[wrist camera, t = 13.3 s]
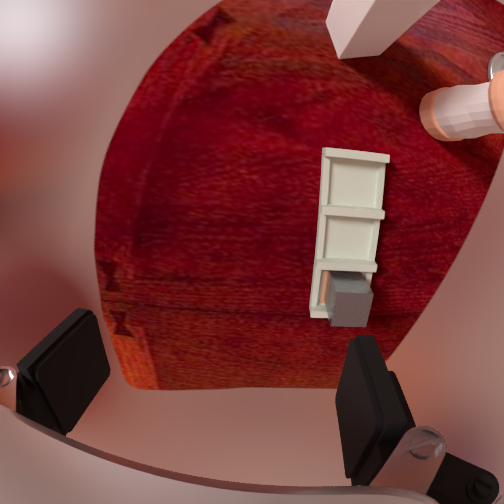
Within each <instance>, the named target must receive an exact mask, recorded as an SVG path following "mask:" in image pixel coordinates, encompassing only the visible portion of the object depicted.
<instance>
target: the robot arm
mask: <svg viewBox="0 0 504 504" xmlns="http://www.w3.org/2000/svg"><path fill="white" fill-rule="evenodd" d="M501 70H504V52H499V53H497V54H495V55H494V56H492V58H491V59H490V62H489V65H488V79H489V82H490V81H491V80H492V78H493V77H494V75H495V74H496V73H497V72H499V71H501ZM17 367H18V369H19V372H18V373H16V371H15V369H13V368H12V367H9V366H2V367H0V504H504V494H503V495H501V494H499V483H498V481H497V479H496V477H495V476H494V475H493V474H492V473H490V472H489V471H486V470H484V469H482V468H479V467H477V466H475V465H473V464H471V463H468V462H466V461H464V460H462V459H460V458H458V457H455V456H453V455H451V454H449V453H447V452H446V449H447V442H446V440H445V438H444V436H443V435H442V434H441V433H440V432H439V431H438V430H436V429H434V428H432V427H428V426H417V427H416V425H415V422H414V420H413V417H412V414H411V412H410V409H409V407H408V404H407V401H406V399H405V396H404V394H403V391H402V389H401V386H400V384H399V382H398V379H397V377H396V375H395V373H394V372H393V371H388V369H387V367H386V364H385V362H384V359H383V357H382V354H381V352H380V350H379V347H378V345H377V342H376V340H375V338H374V336H373V335H356V337H355V339H351V340H350V342H349V346H348V351H347V355H346V359H345V363H344V367H343V371H342V374H341V378H340V382H339V386H338V389H337V393H336V399H335V400H336V401H335V403H336V409H337V416H338V423H339V430H340V437H341V444H342V452H343V459H344V468H345V476H346V478H351V482H352V486H331V487H330V486H323V487H297V486H274V485H259V484H246V483H238V482H229V481H221V480H214V479H208V478H203V477H197V476H192V475H187V474H182V473H177V472H172V471H168V470H164V469H160V468H155V467H152V466H148V465H145V464H141V463H138V462H134V461H131V460H127V459H124V458H121V457H118V456H115V455H112V454H109V453H106V452H103V451H101V450H98V449H95V448H93V447H90V446H87V445H85V444H82V443H80V442H77V441H75V440H73V439H70V438H68V437H66V434H67V433H68V432H71V431H72V429H73V428H74V427H75V425H76V424H77V422H78V421H79V419H80V418H81V416H82V414H83V413H84V412H85V410H86V409H87V407H88V406H89V404H90V403H91V401H92V400H93V398H94V397H95V396H96V394H97V393H98V391H99V390H100V388H101V387H102V385H103V384H104V383H105V381H106V380H107V378H108V377H109V375H110V366H109V363H108V360H107V356H106V353H105V349H104V345H103V342H102V338H101V334H100V330H99V326H98V321H97V318H96V316H95V315H94V314H93V312H92V311H91V310H87V309H81V308H78V309H76V310H75V311H74V312H73V313H71V314H70V315H69V316H68V317H67V318H66V319H65V320H64V321H62V322H61V323H60V324H59V325H58V326H57V327H56V328H55V329H54V330H52V331H51V332H50V333H49V334H48V335H47V336H46V337H45V338H44V339H43V340H42V341H40V342H39V343H38V344H37V345H36V346H35V347H34V348H33V349H32V350H31V351H30V352H29V353H28V354H27V355H26V356H25V357H24V358H23V359H21V360H20V361H19V362H18V363H17ZM359 485H361V486H359Z"/></svg>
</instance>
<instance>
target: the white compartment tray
mask: <svg viewBox="0 0 504 504" xmlns="http://www.w3.org/2000/svg"><path fill="white" fill-rule="evenodd" d="M389 159H390V155H386V154H379V153H372V152H364V151H355V150H346V149H336V148H322V166H321V185H320V200H319V214H318V227H317V238H316V249H315V260H314V269H313V279H312V288H311V296H310V305H309V309H310V315H311V317H312V318H328V314H327V310H326V306H325V302H324V295H325V288H326V281H327V274H328V270H338V271H359V272H361V273H362V275H363V277H364V278H365V280H366V282H367V283H368V285H369V287H370V284H371V279H372V273H373V272H376V270H377V264H376V263H375V255H376V248H377V241H378V234H379V226H380V219H384V216H385V211H383V210H382V200H383V190H384V178H385V163H389Z"/></svg>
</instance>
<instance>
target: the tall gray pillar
mask: <svg viewBox="0 0 504 504" xmlns="http://www.w3.org/2000/svg"><path fill="white" fill-rule="evenodd" d="M373 295H374V293H373V292H372V290H371V288H370V287H369V285H368V283H367V282H366V280H365V278H364V277H363V275H362V273H361V272H359V271H338V270H328V274H327V281H326V288H325V295H324V302H325V306H326V310H327V314H328V318H329V322H330V326H345V327H366V325H367V321H368V317H369V313H370V308H371V304H372V299H373Z"/></svg>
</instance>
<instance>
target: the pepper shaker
mask: <svg viewBox="0 0 504 504" xmlns="http://www.w3.org/2000/svg"><path fill="white" fill-rule="evenodd" d="M419 114H420V119H421V122H422V124H423V126H424V128H425V130H426V131H427V132H428V133H429V134H430V135H431V136H432V137H434V138H435V139H437V140H441V141H460V140H462V139H464V138H477V137H480V136H484V135H487V134H490V133H504V70H501V71H499V72H497V73H496V74H495V75H494V77H493V78H492V80H491V81H490V82H487V83H483V84H479V85H457V86H454V87H451V88H449V87H442V88H440V89H437V90H434V91H431V92H429V93H427V94H426V95H425V96H424V97H423V98H422V100H421V103H420V107H419Z"/></svg>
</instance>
